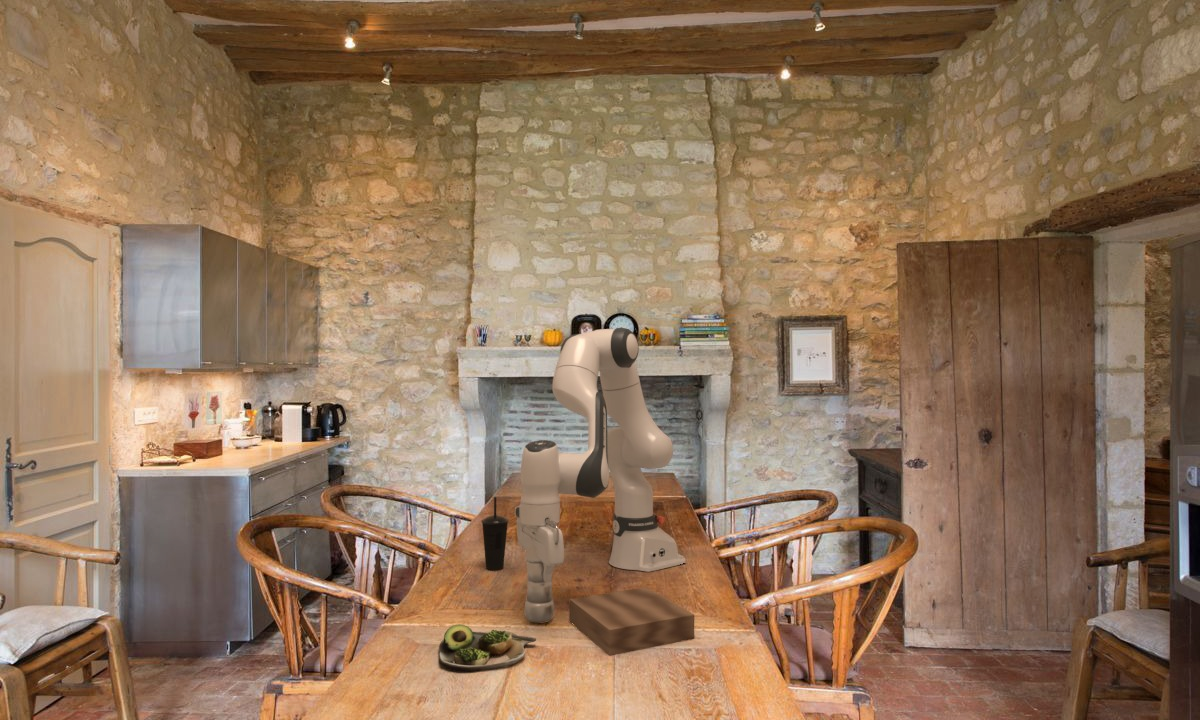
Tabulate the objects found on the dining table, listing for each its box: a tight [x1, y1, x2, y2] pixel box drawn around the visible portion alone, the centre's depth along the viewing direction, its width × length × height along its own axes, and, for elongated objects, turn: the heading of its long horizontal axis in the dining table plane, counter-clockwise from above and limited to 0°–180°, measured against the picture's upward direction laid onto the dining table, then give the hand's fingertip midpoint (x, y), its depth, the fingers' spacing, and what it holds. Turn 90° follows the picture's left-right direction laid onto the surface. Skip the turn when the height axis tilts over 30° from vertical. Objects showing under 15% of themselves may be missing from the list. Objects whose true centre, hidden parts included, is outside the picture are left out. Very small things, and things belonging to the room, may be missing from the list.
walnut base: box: [568, 586, 695, 656], centre depth 150 cm, size 20×20×5 cm
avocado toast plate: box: [438, 623, 537, 673], centre depth 138 cm, size 19×18×5 cm
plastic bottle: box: [523, 532, 555, 624], centre depth 155 cm, size 6×7×20 cm
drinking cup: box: [481, 496, 510, 572], centre depth 195 cm, size 8×8×20 cm
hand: (539, 575), depth 155 cm, fingers open, 7 cm apart
